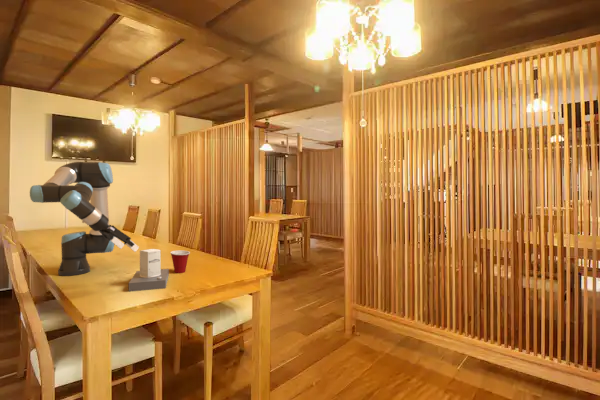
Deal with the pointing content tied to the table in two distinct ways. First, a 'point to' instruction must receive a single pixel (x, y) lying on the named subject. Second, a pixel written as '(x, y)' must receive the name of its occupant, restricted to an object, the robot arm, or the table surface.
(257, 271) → the table surface
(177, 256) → the plastic cup
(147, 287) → the grey base plate
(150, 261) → the supplement box
